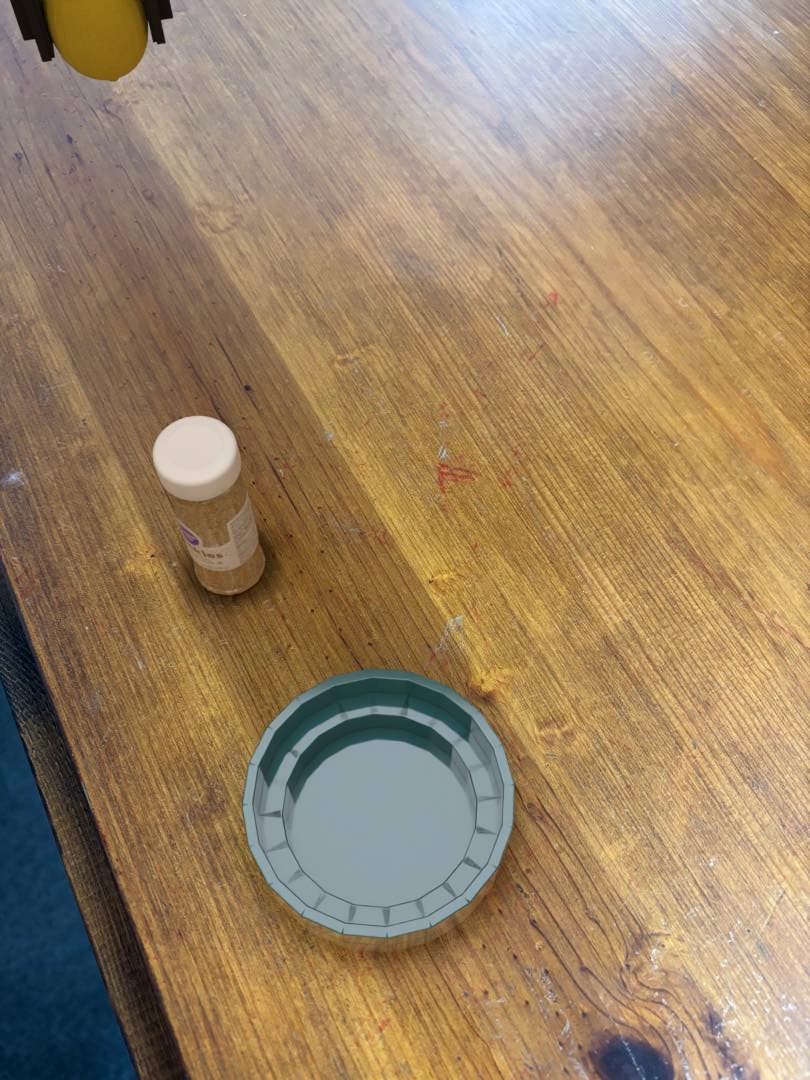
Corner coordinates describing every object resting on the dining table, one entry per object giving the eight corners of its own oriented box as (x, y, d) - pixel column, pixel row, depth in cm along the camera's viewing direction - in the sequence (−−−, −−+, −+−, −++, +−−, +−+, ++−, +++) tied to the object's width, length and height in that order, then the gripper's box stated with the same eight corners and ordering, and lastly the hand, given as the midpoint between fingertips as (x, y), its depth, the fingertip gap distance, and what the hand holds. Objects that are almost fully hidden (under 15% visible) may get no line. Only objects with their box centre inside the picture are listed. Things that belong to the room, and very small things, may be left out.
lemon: (119, 122, 61) (82, -10, 54) (46, 89, 62) (1, -44, 55) (179, 70, 63) (151, -64, 56) (108, 39, 65) (72, -95, 58)
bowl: (278, 982, 56) (267, 968, 52) (237, 730, 63) (224, 699, 58) (537, 917, 57) (547, 899, 53) (470, 678, 64) (474, 644, 60)
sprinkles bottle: (182, 580, 68) (133, 462, 56) (220, 525, 70) (180, 400, 58) (243, 609, 67) (207, 495, 55) (280, 552, 69) (252, 431, 57)
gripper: (186, -410, 48) (240, -22, 63) (-213, -369, 46) (-54, 21, 61) (211, -337, 44) (263, 55, 60) (-221, -289, 42) (-50, 105, 58)
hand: (101, 35), depth 60 cm, fingers closed on lemon, 5 cm apart
